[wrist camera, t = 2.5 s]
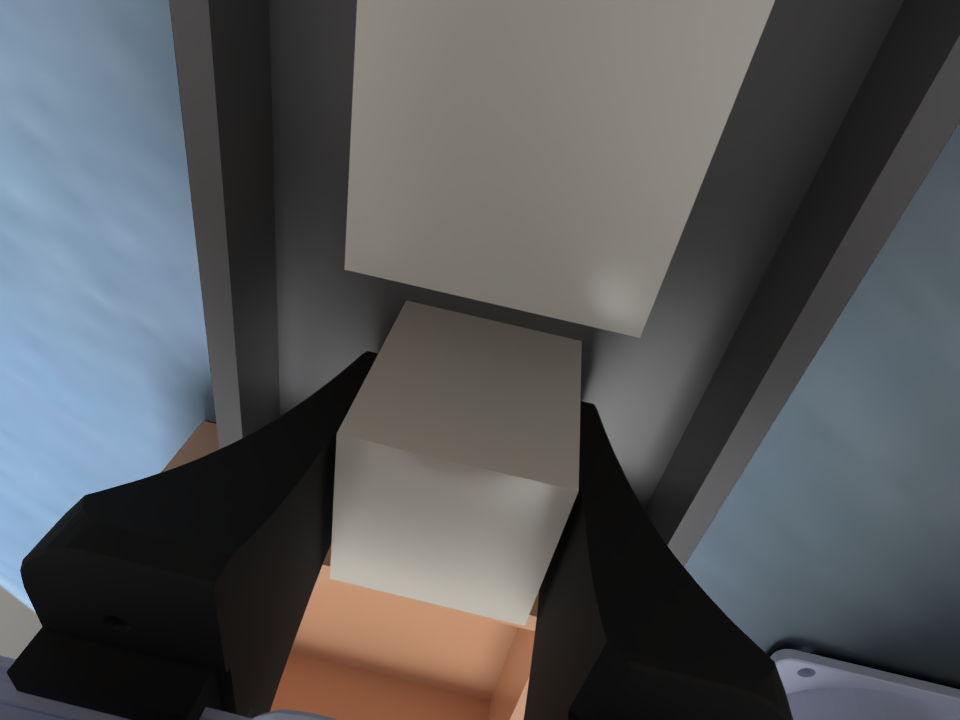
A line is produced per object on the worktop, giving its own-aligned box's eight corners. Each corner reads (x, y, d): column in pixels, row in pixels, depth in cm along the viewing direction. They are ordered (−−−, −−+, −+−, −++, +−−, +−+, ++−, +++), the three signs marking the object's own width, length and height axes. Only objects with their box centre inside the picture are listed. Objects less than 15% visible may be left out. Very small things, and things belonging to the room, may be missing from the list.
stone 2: (581, 341, 13) (578, 491, 10) (539, 466, 16) (524, 626, 12) (406, 300, 13) (336, 433, 10) (390, 431, 16) (329, 578, 12)
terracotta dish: (580, 510, 17) (578, 627, 14) (504, 695, 24) (491, 801, 21) (203, 420, 17) (125, 516, 14) (230, 628, 24) (179, 723, 21)
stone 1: (705, -31, 9) (782, -16, 6) (623, 213, 12) (639, 337, 8) (452, -86, 9) (362, -107, 6) (422, 168, 12) (344, 269, 8)
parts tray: (985, -109, 9) (1114, -127, 7) (652, 520, 17) (661, 602, 15) (240, -266, 9) (132, -332, 7) (269, 429, 17) (224, 497, 15)
